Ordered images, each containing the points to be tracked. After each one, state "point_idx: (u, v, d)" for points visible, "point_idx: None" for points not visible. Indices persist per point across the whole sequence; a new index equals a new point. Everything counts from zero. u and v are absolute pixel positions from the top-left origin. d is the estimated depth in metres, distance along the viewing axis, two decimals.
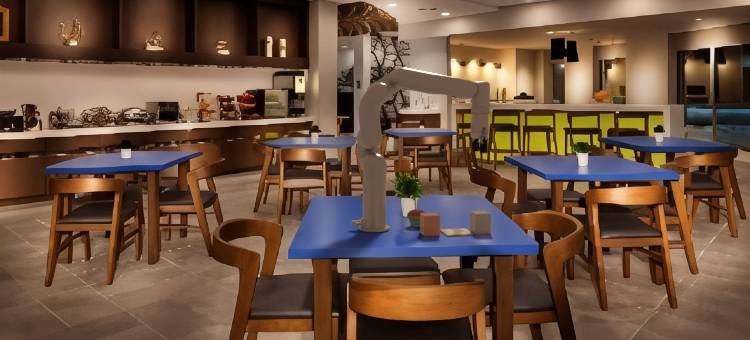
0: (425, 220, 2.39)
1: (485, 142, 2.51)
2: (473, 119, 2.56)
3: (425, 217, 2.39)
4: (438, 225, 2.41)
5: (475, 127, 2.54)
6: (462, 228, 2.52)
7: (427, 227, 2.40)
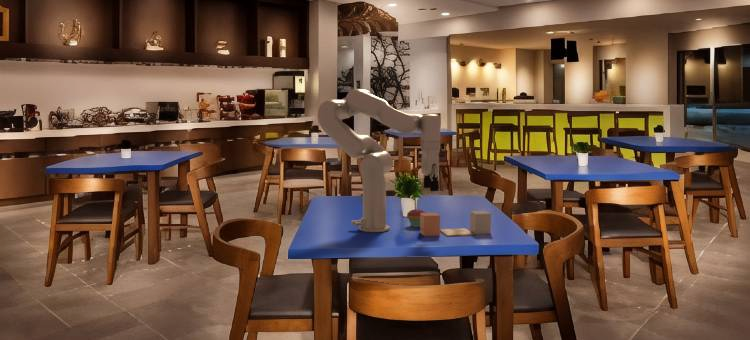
0: (425, 220, 2.39)
1: (435, 179, 2.35)
2: (423, 154, 2.40)
3: (425, 217, 2.39)
4: (438, 225, 2.41)
5: (425, 163, 2.38)
6: (462, 228, 2.52)
7: (427, 227, 2.40)
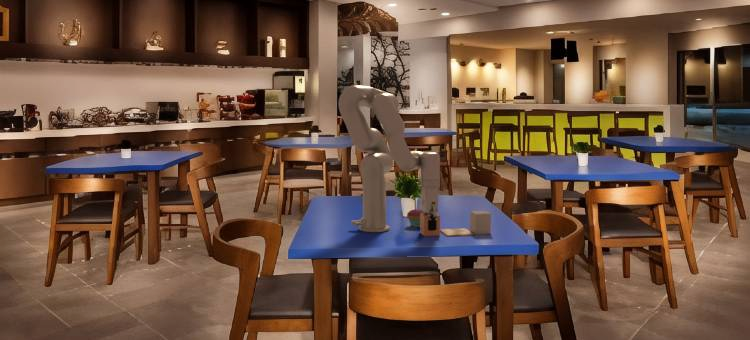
0: (425, 220, 2.39)
1: (433, 220, 2.38)
2: (422, 192, 2.42)
3: (425, 217, 2.39)
4: (438, 225, 2.41)
5: (424, 201, 2.40)
6: (462, 228, 2.52)
7: (427, 227, 2.40)
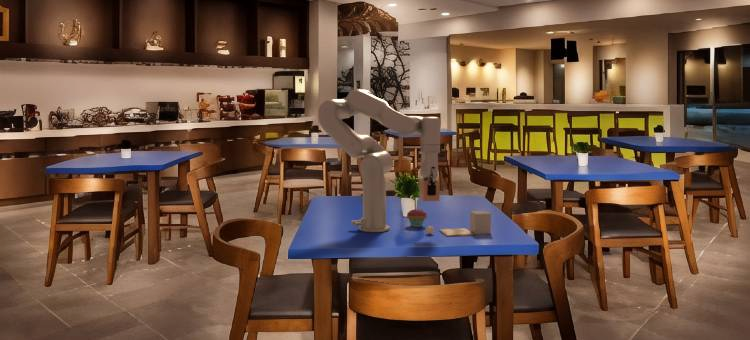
0: (425, 185, 2.38)
1: (433, 184, 2.37)
2: (422, 157, 2.40)
3: (425, 182, 2.38)
4: (438, 190, 2.39)
5: (424, 166, 2.38)
6: (462, 228, 2.52)
7: (427, 192, 2.39)
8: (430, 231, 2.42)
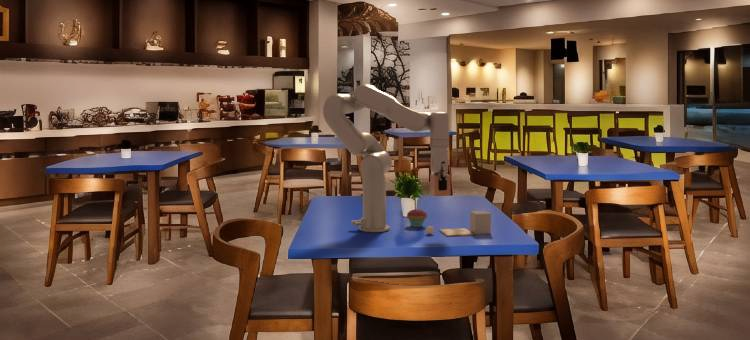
0: (435, 180, 2.38)
1: (443, 179, 2.37)
2: (432, 152, 2.41)
3: (435, 177, 2.38)
4: (448, 185, 2.39)
5: (434, 161, 2.39)
6: (462, 228, 2.52)
7: (438, 187, 2.39)
8: (430, 231, 2.42)
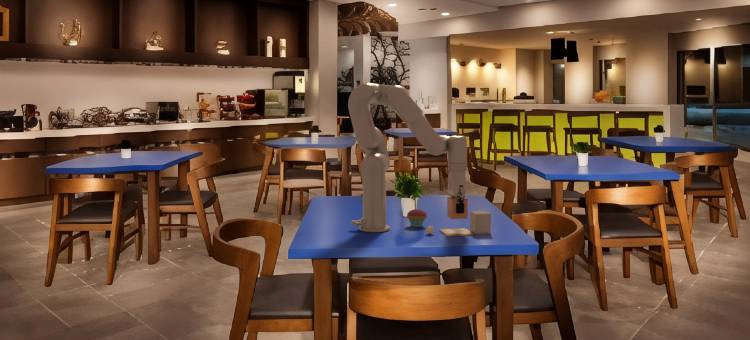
0: (453, 203, 2.41)
1: (461, 203, 2.39)
2: (450, 175, 2.43)
3: (453, 200, 2.41)
4: (466, 208, 2.42)
5: (452, 184, 2.41)
6: (462, 228, 2.52)
7: (455, 210, 2.41)
8: (430, 231, 2.42)
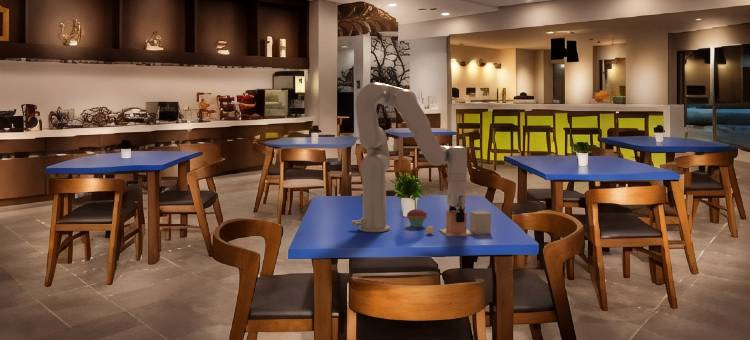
0: (452, 217, 2.41)
1: (461, 211, 2.38)
2: (449, 186, 2.44)
3: (452, 214, 2.41)
4: (465, 222, 2.42)
5: (451, 195, 2.41)
6: None
7: (454, 224, 2.42)
8: (430, 231, 2.42)
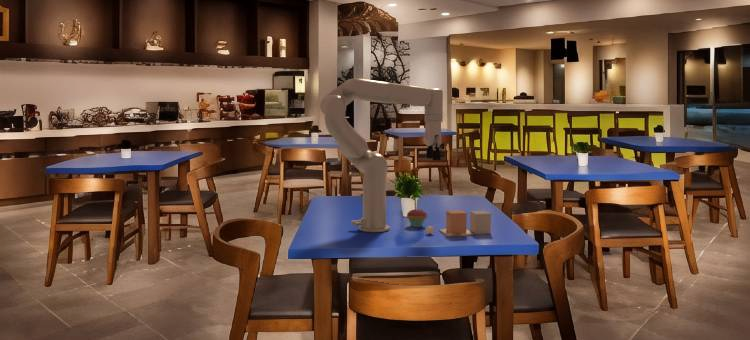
0: (452, 217, 2.41)
1: (437, 149, 2.52)
2: (426, 126, 2.57)
3: (452, 214, 2.41)
4: (465, 222, 2.42)
5: (428, 134, 2.55)
6: None
7: (454, 224, 2.42)
8: (430, 231, 2.42)
